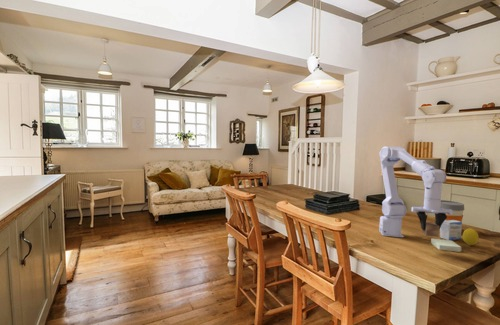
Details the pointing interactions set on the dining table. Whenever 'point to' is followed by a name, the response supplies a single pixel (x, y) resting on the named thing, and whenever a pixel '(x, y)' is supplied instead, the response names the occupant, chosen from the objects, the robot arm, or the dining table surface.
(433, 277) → the dining table surface
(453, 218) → the reusable coffee cup
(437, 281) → the dining table surface
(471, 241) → the lemon
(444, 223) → the medicine box
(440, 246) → the base brick
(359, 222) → the dining table surface
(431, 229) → the walnut cube
